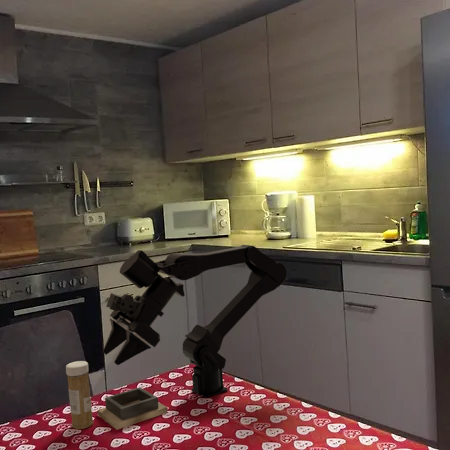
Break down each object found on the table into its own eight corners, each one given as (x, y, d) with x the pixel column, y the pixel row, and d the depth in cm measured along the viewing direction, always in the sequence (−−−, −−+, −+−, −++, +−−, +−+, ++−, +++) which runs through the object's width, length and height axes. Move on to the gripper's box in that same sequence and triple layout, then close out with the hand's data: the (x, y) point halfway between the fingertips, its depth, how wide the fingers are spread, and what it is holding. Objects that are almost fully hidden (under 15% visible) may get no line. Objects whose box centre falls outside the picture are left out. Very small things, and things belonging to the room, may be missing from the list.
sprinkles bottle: (96, 425, 116) (90, 363, 115) (75, 432, 114) (69, 368, 113) (89, 418, 120) (83, 358, 119) (68, 424, 118) (62, 363, 116)
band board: (146, 399, 128) (145, 384, 128) (167, 412, 120) (166, 396, 120) (97, 415, 121) (96, 399, 121) (116, 429, 113) (115, 412, 113)
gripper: (115, 274, 129) (71, 328, 124) (141, 284, 112) (92, 348, 108) (149, 302, 133) (108, 355, 129) (179, 315, 116) (133, 378, 112)
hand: (109, 358), depth 119 cm, fingers open, 9 cm apart
